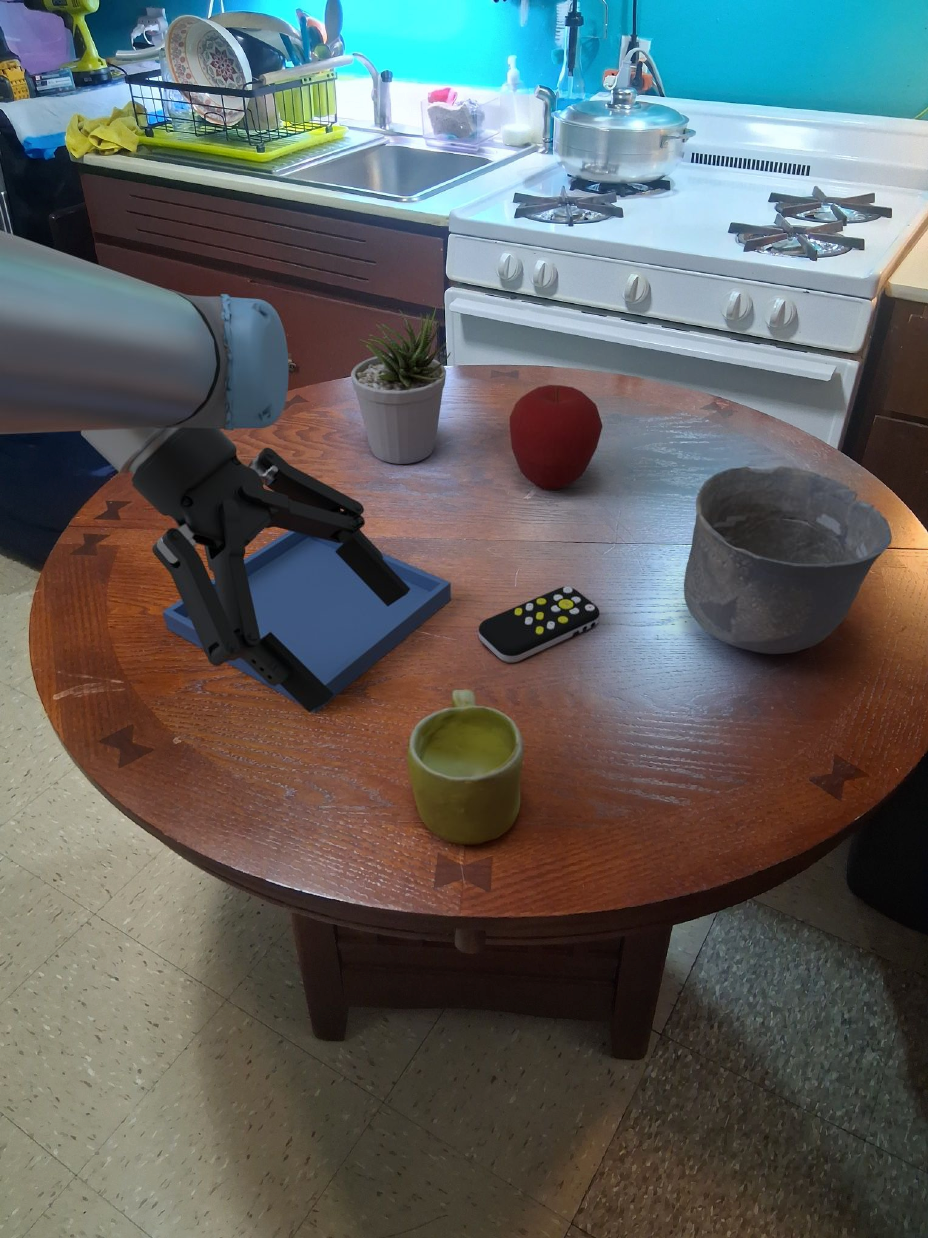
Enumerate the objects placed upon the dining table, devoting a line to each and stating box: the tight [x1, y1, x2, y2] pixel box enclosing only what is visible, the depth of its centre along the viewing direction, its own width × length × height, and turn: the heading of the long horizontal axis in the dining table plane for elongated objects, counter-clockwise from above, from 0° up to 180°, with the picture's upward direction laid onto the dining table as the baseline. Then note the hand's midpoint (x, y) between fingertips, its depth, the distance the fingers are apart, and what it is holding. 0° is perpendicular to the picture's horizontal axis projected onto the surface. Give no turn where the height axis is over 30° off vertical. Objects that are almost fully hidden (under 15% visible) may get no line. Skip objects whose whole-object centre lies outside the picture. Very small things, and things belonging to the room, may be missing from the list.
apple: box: [509, 384, 603, 491], centre depth 112 cm, size 12×12×13 cm
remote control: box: [478, 586, 600, 664], centre depth 92 cm, size 6×13×2 cm, turn 123°
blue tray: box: [161, 530, 452, 714], centre depth 94 cm, size 22×22×2 cm
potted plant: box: [350, 307, 452, 465], centre depth 116 cm, size 13×14×20 cm
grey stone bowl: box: [683, 465, 893, 655], centre depth 87 cm, size 18×18×15 cm
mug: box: [406, 689, 524, 846], centre depth 73 cm, size 12×10×10 cm
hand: (363, 647), depth 70 cm, fingers open, 13 cm apart
